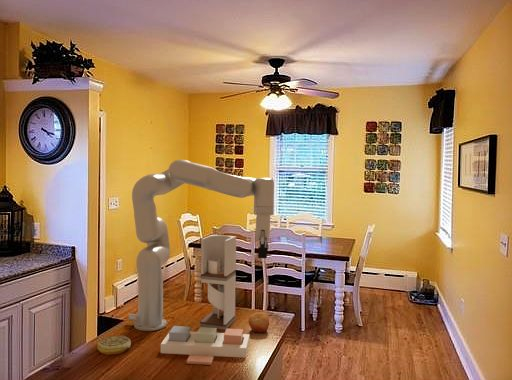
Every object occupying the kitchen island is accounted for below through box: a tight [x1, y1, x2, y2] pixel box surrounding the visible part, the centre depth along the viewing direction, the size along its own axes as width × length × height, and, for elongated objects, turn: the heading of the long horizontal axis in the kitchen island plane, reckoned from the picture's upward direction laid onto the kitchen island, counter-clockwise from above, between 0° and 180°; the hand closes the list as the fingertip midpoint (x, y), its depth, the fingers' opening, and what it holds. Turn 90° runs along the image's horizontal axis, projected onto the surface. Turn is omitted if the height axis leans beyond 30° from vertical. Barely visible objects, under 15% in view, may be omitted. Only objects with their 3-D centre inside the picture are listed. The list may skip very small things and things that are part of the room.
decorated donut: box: [96, 335, 132, 356], centre depth 146 cm, size 10×11×4 cm
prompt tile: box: [186, 354, 215, 366], centre depth 139 cm, size 8×5×1 cm, turn 85°
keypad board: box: [160, 330, 251, 359], centre depth 149 cm, size 29×12×3 cm, turn 85°
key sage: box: [196, 327, 218, 343], centre depth 149 cm, size 6×6×3 cm
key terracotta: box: [223, 328, 244, 345], centre depth 148 cm, size 6×6×3 cm
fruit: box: [247, 311, 270, 333], centre depth 166 cm, size 8×8×8 cm
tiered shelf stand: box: [199, 234, 237, 331], centre depth 172 cm, size 11×11×35 cm
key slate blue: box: [168, 325, 191, 342], centre depth 150 cm, size 6×6×3 cm
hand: (263, 255), depth 162 cm, fingers open, 9 cm apart
